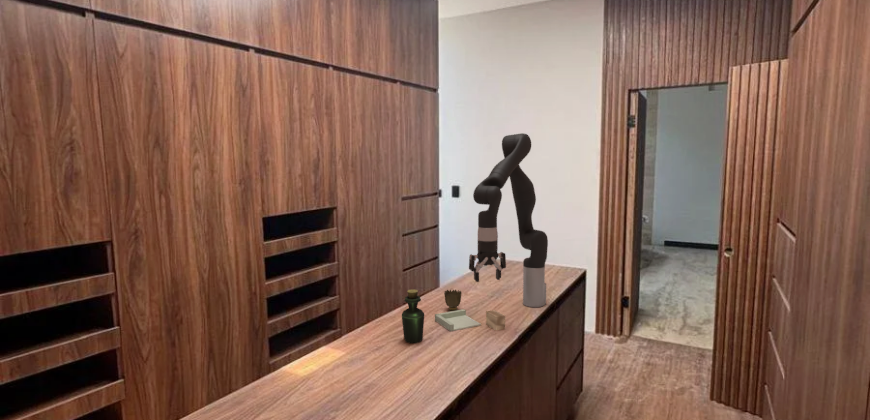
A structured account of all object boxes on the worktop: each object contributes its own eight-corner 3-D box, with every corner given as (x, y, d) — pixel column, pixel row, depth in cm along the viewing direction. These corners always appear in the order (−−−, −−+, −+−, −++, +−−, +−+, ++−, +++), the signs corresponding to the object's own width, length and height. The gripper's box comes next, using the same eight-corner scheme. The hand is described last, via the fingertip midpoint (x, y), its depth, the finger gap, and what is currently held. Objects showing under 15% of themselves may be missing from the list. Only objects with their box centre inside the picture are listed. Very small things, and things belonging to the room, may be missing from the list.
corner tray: (464, 315, 189) (464, 309, 188) (481, 325, 177) (481, 319, 177) (434, 320, 183) (434, 314, 183) (450, 331, 171) (450, 324, 171)
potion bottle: (419, 345, 158) (418, 295, 156) (398, 342, 161) (397, 293, 159) (428, 337, 166) (427, 288, 164) (407, 334, 169) (406, 286, 167)
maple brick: (494, 323, 179) (494, 309, 178) (505, 329, 173) (505, 315, 172) (486, 325, 177) (486, 311, 177) (496, 331, 171) (496, 317, 170)
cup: (460, 313, 191) (460, 294, 190) (442, 312, 192) (442, 293, 191) (462, 307, 198) (462, 289, 197) (446, 306, 200) (445, 288, 199)
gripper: (500, 235, 178) (500, 276, 180) (466, 238, 174) (466, 279, 176) (509, 239, 171) (508, 281, 173) (473, 241, 167) (473, 284, 169)
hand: (487, 280), depth 174 cm, fingers open, 8 cm apart
